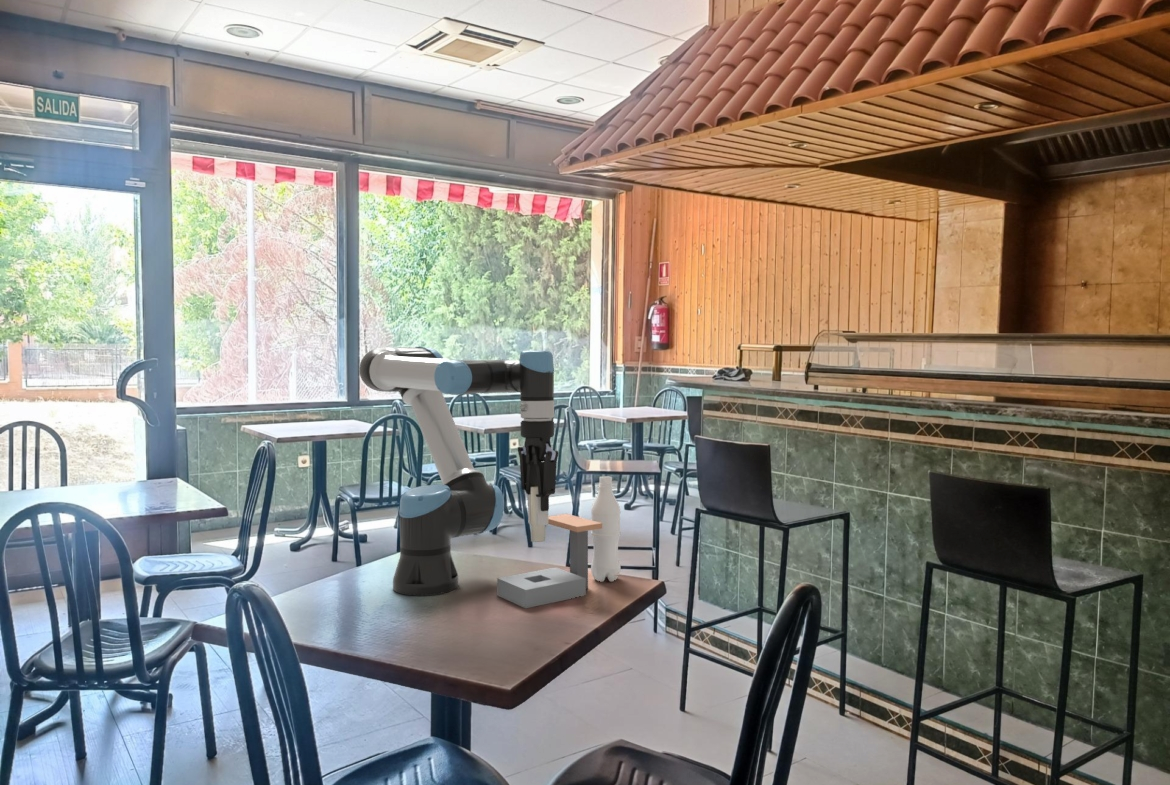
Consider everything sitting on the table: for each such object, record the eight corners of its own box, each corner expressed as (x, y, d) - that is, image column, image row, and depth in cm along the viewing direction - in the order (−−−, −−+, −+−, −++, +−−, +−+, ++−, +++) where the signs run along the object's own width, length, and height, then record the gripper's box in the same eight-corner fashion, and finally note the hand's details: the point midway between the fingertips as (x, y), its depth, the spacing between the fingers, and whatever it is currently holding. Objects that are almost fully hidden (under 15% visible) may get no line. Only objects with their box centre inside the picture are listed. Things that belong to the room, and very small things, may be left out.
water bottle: (625, 578, 198) (625, 476, 197) (610, 585, 192) (610, 480, 191) (600, 574, 202) (600, 474, 201) (585, 580, 196) (585, 477, 195)
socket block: (497, 595, 184) (497, 578, 184) (555, 583, 193) (555, 567, 193) (525, 608, 174) (525, 590, 174) (585, 595, 184) (585, 578, 184)
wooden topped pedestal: (542, 585, 192) (542, 517, 192) (567, 580, 196) (566, 513, 196) (577, 598, 181) (577, 526, 180) (602, 593, 185) (602, 523, 185)
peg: (540, 538, 185) (539, 485, 184) (548, 540, 182) (547, 487, 182) (528, 540, 183) (527, 487, 182) (536, 542, 180) (535, 488, 180)
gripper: (504, 418, 186) (505, 520, 186) (542, 422, 173) (543, 531, 174) (532, 417, 190) (533, 516, 191) (571, 420, 177) (572, 527, 178)
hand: (538, 523), depth 182 cm, fingers closed on peg, 3 cm apart
